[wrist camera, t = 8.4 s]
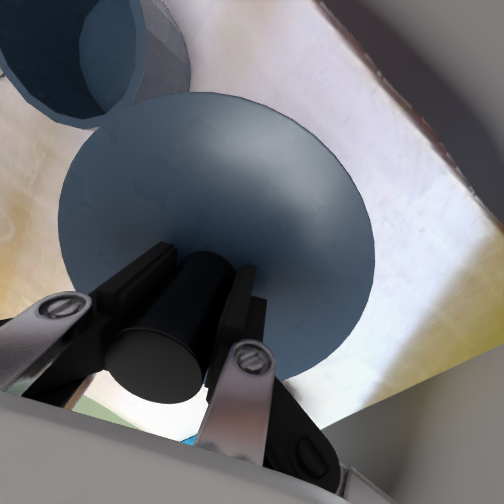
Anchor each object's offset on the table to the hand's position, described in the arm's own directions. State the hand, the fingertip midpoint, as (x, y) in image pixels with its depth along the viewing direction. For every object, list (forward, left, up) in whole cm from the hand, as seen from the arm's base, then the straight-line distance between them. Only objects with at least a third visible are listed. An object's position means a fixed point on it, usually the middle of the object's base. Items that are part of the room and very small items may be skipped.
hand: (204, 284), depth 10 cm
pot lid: (0, 0, -1) cm, 1 cm away
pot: (-17, +10, -22) cm, 30 cm away
